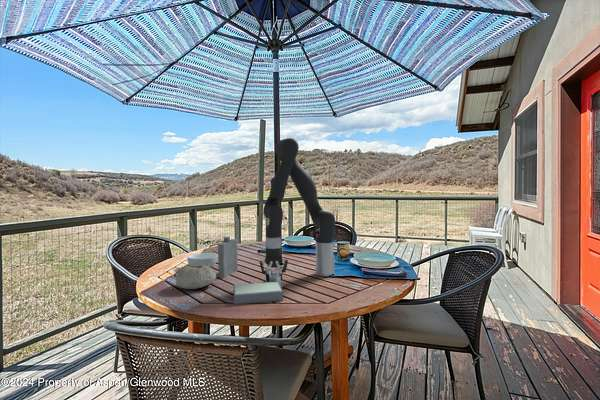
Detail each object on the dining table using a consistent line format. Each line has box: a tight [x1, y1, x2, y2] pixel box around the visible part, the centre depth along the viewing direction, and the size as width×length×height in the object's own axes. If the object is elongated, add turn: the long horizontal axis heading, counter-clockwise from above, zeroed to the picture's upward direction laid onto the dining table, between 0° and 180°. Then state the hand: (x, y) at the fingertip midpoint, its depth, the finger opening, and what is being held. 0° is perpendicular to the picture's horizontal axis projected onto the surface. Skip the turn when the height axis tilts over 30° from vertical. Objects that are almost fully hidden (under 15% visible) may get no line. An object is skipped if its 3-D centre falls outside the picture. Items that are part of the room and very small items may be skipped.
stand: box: [233, 282, 284, 305], centre depth 142 cm, size 20×13×4 cm, turn 102°
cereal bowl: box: [187, 252, 218, 268], centre depth 190 cm, size 17×17×7 cm
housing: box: [265, 269, 284, 288], centre depth 159 cm, size 7×11×6 cm, turn 11°
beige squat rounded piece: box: [175, 265, 217, 290], centre depth 156 cm, size 18×18×10 cm
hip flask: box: [217, 236, 239, 279], centre depth 176 cm, size 16×4×20 cm, turn 161°
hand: (273, 281), depth 159 cm, fingers closed on housing, 5 cm apart
